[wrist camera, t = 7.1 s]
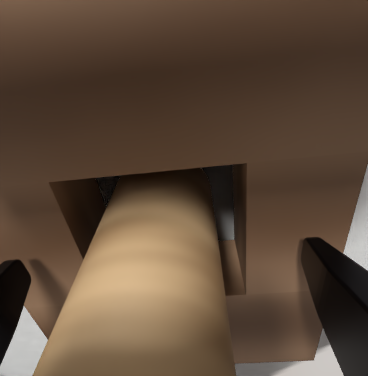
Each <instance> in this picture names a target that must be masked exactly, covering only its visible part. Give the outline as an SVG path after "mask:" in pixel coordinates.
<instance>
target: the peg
mask: <svg viewBox="0 0 368 376" xmlns="http://www.w3.org/2000/svg"><path fill="white" fill-rule="evenodd" d="M33 376H236V370H235V363H234V355H233V348H232V341H231V333H230V326H229V318H228V311H227V303H226V296H225V288H224V281H223V273H222V266H221V258H220V251H219V244H218V236H217V229H216V221H215V214H214V206H213V199H212V191H211V185H210V182H209V179H208V177H207V175H206V174H205V172H204V171H203V170H202V169H201V168H191V169H181V170H170V171H160V172H150V173H139V174H129V175H121V176H120V178H119V180H118V182H117V185H116V187H115V189H114V192H113V194H112V196H111V198H110V201H109V203H108V205H107V207H106V210H105V212H104V214H103V217H102V219H101V221H100V223H99V226H98V228H97V230H96V233H95V235H94V237H93V239H92V242H91V244H90V246H89V248H88V251H87V253H86V255H85V258H84V260H83V262H82V264H81V267H80V269H79V271H78V274H77V276H76V278H75V280H74V283H73V285H72V287H71V289H70V292H69V294H68V296H67V299H66V301H65V303H64V305H63V308H62V310H61V312H60V314H59V317H58V319H57V321H56V324H55V326H54V328H53V330H52V333H51V335H50V337H49V340H48V342H47V344H46V346H45V349H44V351H43V353H42V355H41V358H40V360H39V362H38V365H37V367H36V369H35V371H34V374H33Z"/></svg>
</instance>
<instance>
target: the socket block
mask: <svg viewBox="0 0 368 376" xmlns="http://www.w3.org/2000/svg"><path fill="white" fill-rule="evenodd" d="M367 164H368V0H0V264H1V263H2V262H4V261H6V260H14V259H19V260H21V261H22V262H23V264H24V265H25V267H26V269H27V270H28V272H29V274H30V275H31V285H30V288H29V291H28V294H27V297H26V300H25V303H24V306H25V308H26V309H27V310H28V312H29V313H30V315H31V316H32V318H33V319H34V320H35V322H36V323H37V325H38V326H39V328H40V329H41V330H42V332H43V333H44V335H45V336H46V337H47V339H48V340H49V337H50V335H51V333H52V330H53V328H54V326H55V324H56V321H57V319H58V317H59V314H60V312H61V310H62V308H63V305H64V303H65V301H66V299H67V296H68V294H69V292H70V289H71V287H72V285H73V283H74V280H75V278H76V276H77V274H78V271H79V269H80V267H81V264H82V262H83V260H84V258H85V255H86V253H87V251H88V248H89V246H90V244H91V242H92V239H93V237H94V235H95V233H96V230H97V228H98V226H99V223H100V221H101V219H102V217H103V214H104V212H105V210H106V207H105V204H104V201H103V198H102V195H101V192H100V189H99V186H98V184H97V181H96V178H98V177H108V176H119V175H129V174H139V173H150V172H160V171H170V170H181V169H191V168H201V167H212V166H222V165H233V198H234V240H225V241H218V244H219V251H220V258H221V266H222V273H223V281H224V288H225V296H226V303H227V311H228V318H229V326H230V333H231V341H232V348H233V355H234V363H235V364H236V363H260V362H284V361H308V360H314V357H315V354H316V350H317V347H318V343H319V339H320V336H321V332H322V328H323V326H322V324H321V322H320V319H319V317H318V314H317V312H316V309H315V306H314V303H313V300H312V296H311V293H310V290H309V287H308V283H307V280H306V277H305V274H304V271H303V267H302V264H301V252H302V246H303V241H304V239H305V238H307V237H320V238H322V239H323V240H325V241H326V242H327V243H329V244H330V245H332V246H333V247H335V248H336V249H337V250H339V251H340V252H342V253H343V252H344V248H345V245H346V241H347V237H348V234H349V230H350V226H351V223H352V219H353V215H354V212H355V208H356V204H357V201H358V197H359V193H360V190H361V186H362V182H363V179H364V175H365V172H366V168H367Z"/></svg>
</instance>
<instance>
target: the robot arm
mask: <svg viewBox="0 0 368 376" xmlns="http://www.w3.org/2000/svg"><path fill="white" fill-rule="evenodd" d="M301 264H302V267H303V271H304V274H305V277H306V280H307V283H308V287H309V290H310V293H311V296H312V300H313V303H314V306H315V309H316V312H317V314H318V317H319V319H320V322H321V324H322V326H323V329H324V331H325V333H326V336H327V338H328V340H329V342H330V345H331V347H332V349H333V352H334V354H335V356H336V358H337V361H338V363H339V365H340V368H341V370H342V372H343V375H344V376H368V271H367V270H366V269H365V268H363V267H362V266H360V265H359V264H357V263H356V262H355V261H353V260H352V259H350V258H349V257H347V256H346V255H345V254H343V253H342V252H340V251H339V250H337V249H336V248H335V247H333V246H332V245H330V244H329V243H327V242H326V241H325V240H323V239H322V238H320V237H307V238H305V239H304V241H303V246H302V252H301ZM30 285H31V275H30V274H29V272H28V270H27V269H26V267H25V265H24V264H23V262H22V261H21V260H19V259H14V260H6V261H4V262H2V263H1V264H0V365H1V363H2V360H3V358H4V356H5V353H6V351H7V349H8V347H9V344H10V342H11V340H12V337H13V335H14V332H15V330H16V327H17V324H18V321H19V318H20V315H21V312H22V309H23V306H24V303H25V300H26V297H27V294H28V291H29V288H30Z"/></svg>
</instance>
